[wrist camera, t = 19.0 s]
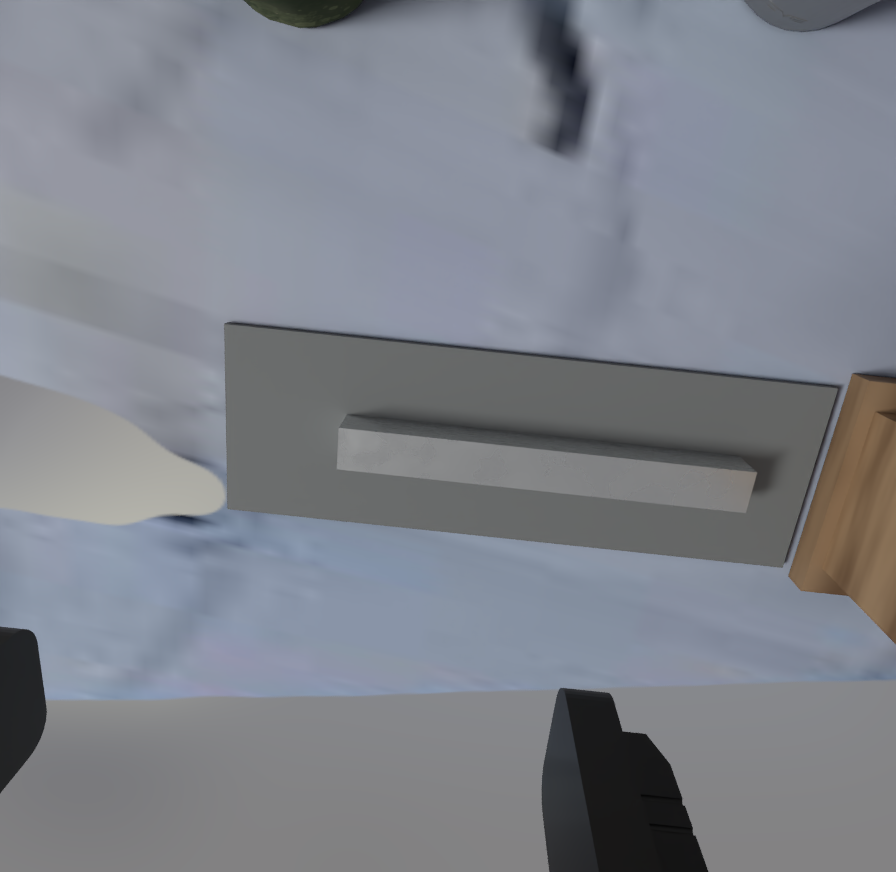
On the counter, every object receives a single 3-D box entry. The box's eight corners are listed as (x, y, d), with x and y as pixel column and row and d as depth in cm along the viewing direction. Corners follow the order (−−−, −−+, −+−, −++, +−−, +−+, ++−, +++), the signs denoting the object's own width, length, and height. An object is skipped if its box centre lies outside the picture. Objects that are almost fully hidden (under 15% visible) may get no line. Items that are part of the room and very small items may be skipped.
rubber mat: (230, 505, 49) (227, 508, 49) (227, 322, 44) (224, 324, 44) (778, 563, 49) (782, 567, 49) (833, 386, 44) (838, 388, 44)
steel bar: (344, 453, 47) (336, 469, 44) (346, 414, 46) (338, 427, 43) (729, 494, 47) (745, 513, 44) (739, 456, 46) (757, 472, 43)
